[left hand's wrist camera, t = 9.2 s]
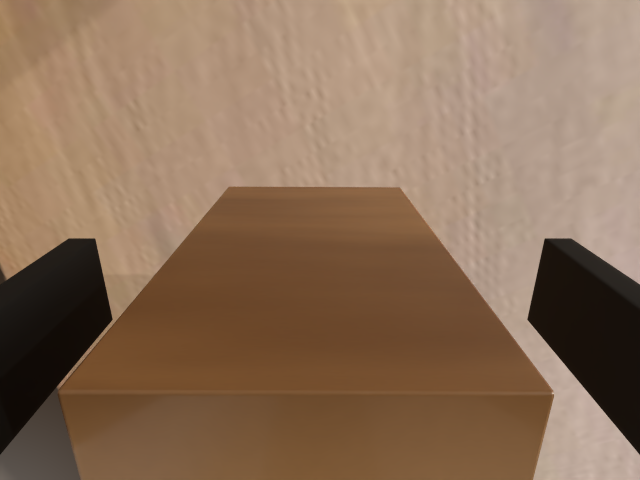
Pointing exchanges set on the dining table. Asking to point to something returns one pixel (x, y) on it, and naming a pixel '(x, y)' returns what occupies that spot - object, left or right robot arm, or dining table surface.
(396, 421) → the box
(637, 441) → the left robot arm
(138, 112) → the dining table surface
